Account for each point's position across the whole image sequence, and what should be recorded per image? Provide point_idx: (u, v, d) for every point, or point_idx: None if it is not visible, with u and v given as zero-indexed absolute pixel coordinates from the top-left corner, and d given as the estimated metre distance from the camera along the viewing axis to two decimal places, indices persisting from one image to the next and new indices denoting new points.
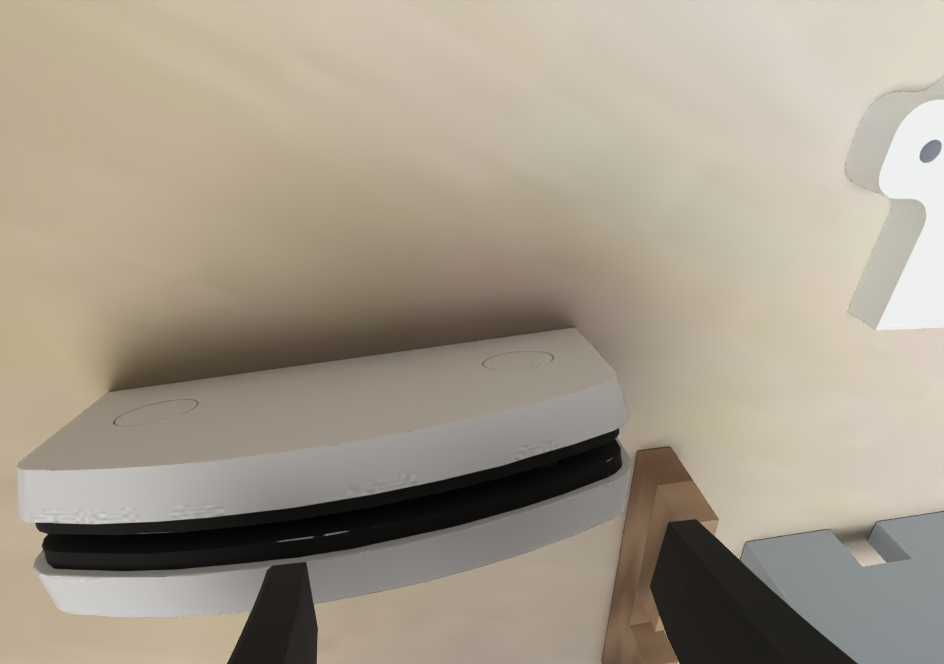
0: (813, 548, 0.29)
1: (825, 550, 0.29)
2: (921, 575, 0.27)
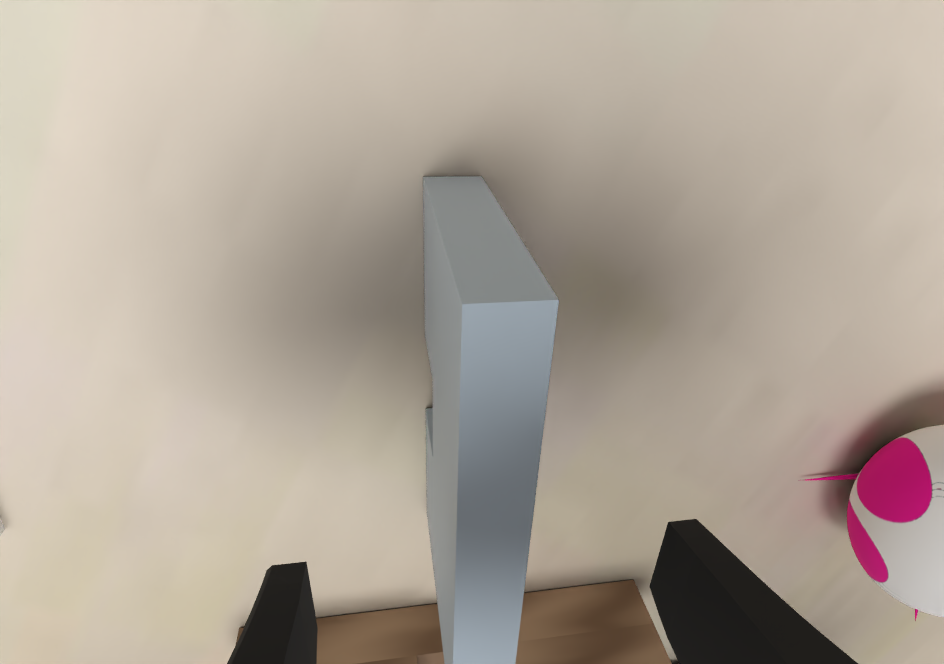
0: (429, 466, 0.18)
1: (429, 458, 0.18)
2: (435, 409, 0.14)
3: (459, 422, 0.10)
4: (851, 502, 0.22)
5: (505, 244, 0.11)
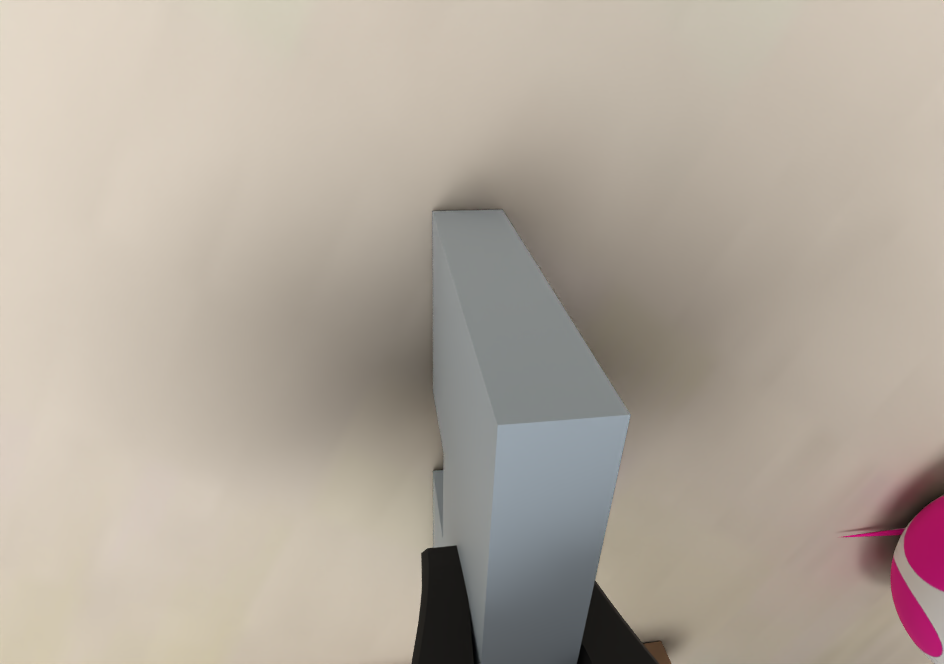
0: (437, 537, 0.16)
1: (437, 530, 0.15)
2: (448, 493, 0.12)
3: (488, 563, 0.07)
4: (897, 563, 0.20)
5: (543, 315, 0.08)
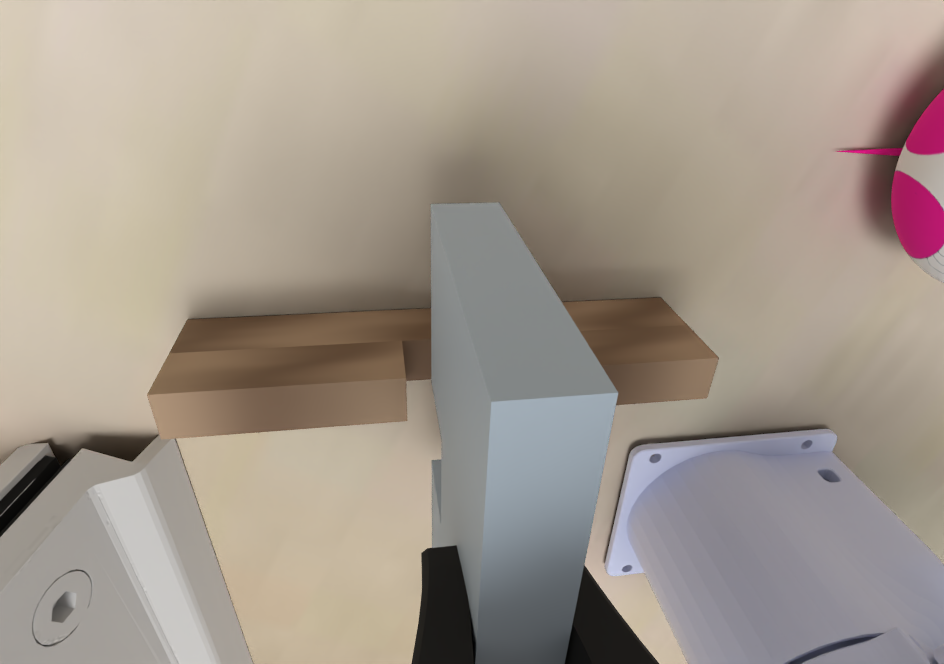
0: (435, 525, 0.16)
1: (435, 518, 0.16)
2: (446, 478, 0.12)
3: (482, 538, 0.08)
4: (898, 168, 0.18)
5: (537, 302, 0.09)
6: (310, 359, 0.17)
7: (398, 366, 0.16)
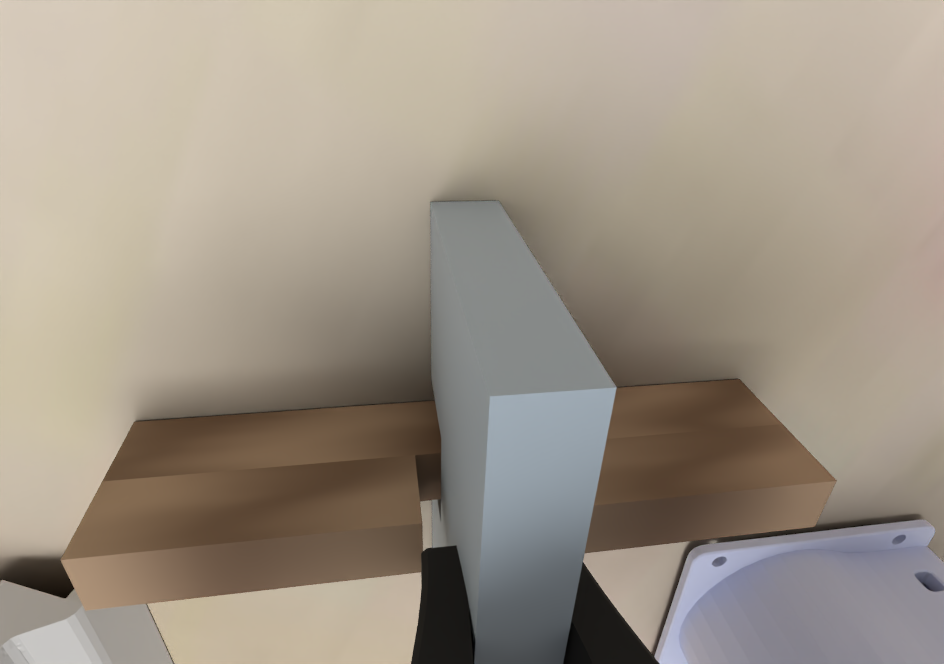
0: (435, 523, 0.16)
1: (436, 517, 0.16)
2: (446, 476, 0.12)
3: (482, 533, 0.08)
4: None
5: (536, 298, 0.09)
6: (292, 489, 0.12)
7: (411, 502, 0.12)
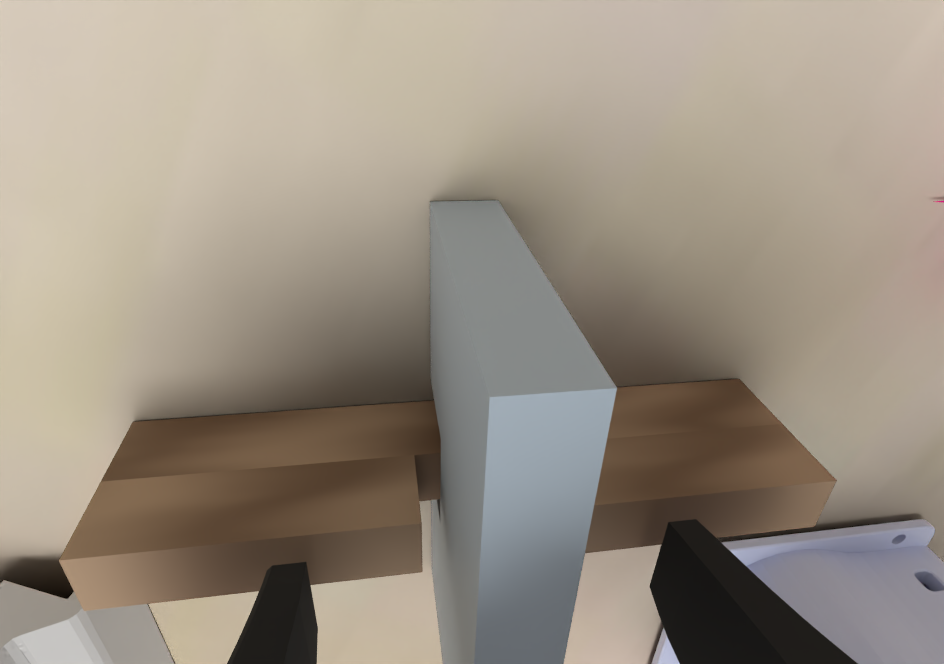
0: (435, 523, 0.16)
1: (435, 517, 0.16)
2: (445, 476, 0.12)
3: (481, 534, 0.08)
4: None
5: (536, 299, 0.09)
6: (291, 489, 0.12)
7: (410, 502, 0.12)
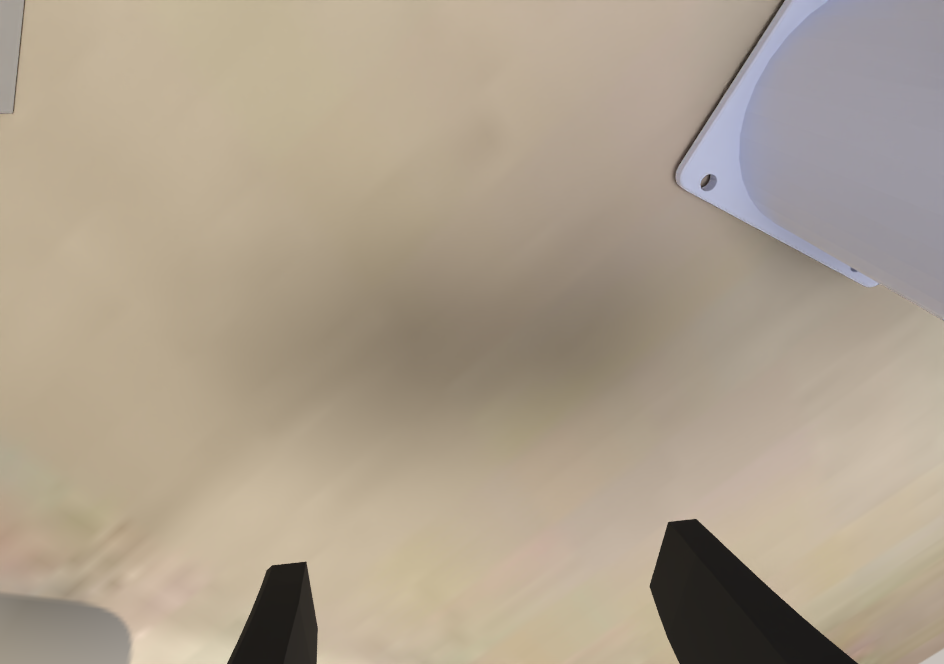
0: None
1: None
2: None
3: None
4: None
5: None
6: None
7: None
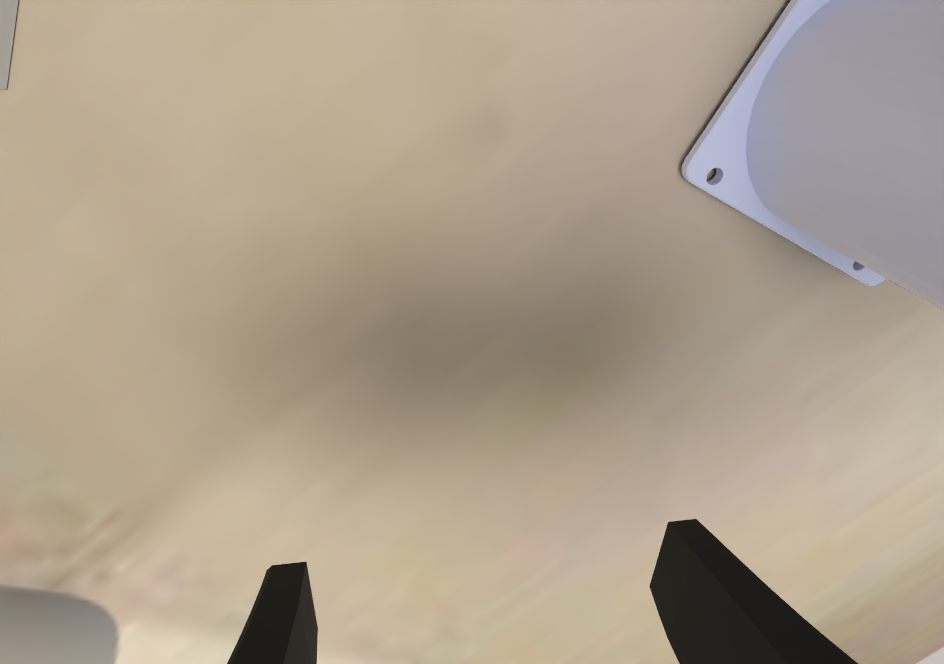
0: None
1: None
2: None
3: None
4: None
5: None
6: None
7: None
